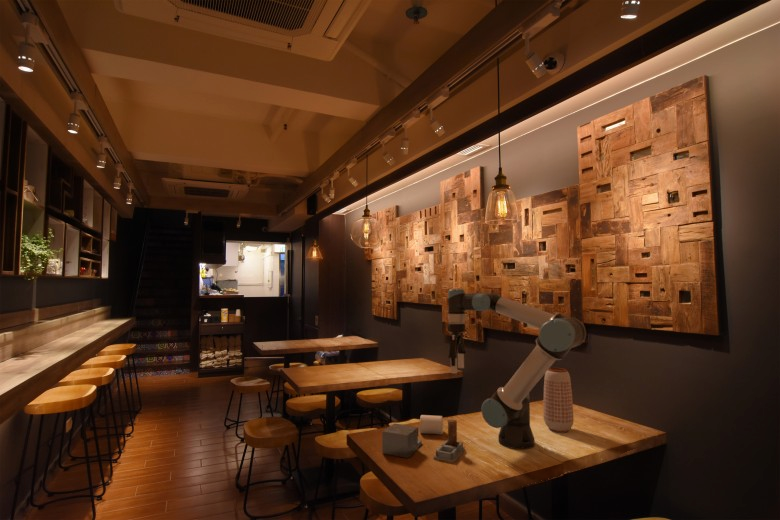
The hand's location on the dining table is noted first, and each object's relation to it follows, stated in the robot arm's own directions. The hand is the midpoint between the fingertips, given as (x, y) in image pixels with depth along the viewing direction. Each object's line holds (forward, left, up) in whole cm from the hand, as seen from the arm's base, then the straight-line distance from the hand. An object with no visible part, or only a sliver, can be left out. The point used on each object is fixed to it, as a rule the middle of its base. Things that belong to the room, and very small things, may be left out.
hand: (457, 370), depth 191 cm
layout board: (+17, +17, -30) cm, 39 cm away
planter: (-39, -34, -30) cm, 60 cm away
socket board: (-2, +18, -30) cm, 35 cm away
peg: (-2, +15, -29) cm, 33 cm away
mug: (+14, -4, -30) cm, 34 cm away
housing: (+17, +25, -30) cm, 42 cm away
